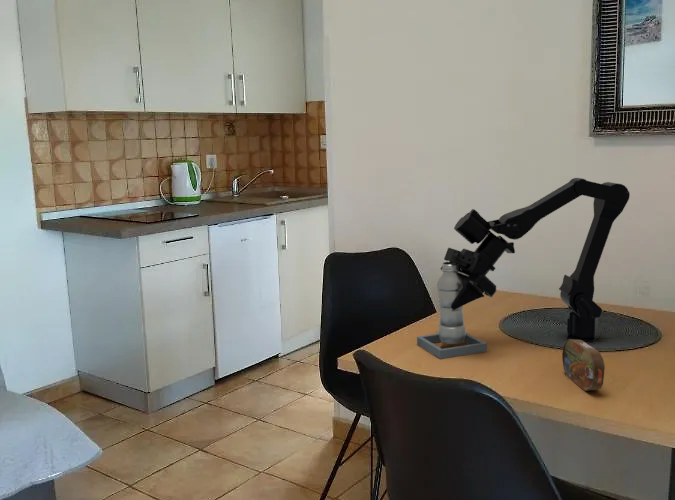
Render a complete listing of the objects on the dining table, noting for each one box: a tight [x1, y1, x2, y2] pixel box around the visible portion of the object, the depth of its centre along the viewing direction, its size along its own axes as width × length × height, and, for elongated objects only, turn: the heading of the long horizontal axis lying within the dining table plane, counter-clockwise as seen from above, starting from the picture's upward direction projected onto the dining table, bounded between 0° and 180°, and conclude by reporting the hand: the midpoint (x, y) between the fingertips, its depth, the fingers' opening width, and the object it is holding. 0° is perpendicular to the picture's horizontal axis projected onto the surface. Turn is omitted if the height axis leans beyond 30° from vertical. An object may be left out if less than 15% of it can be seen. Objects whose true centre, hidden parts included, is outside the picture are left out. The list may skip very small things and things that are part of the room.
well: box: [416, 332, 488, 360], centre depth 165 cm, size 12×12×2 cm
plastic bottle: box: [436, 261, 467, 345], centre depth 163 cm, size 6×7×20 cm
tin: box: [561, 338, 606, 392], centre depth 138 cm, size 15×3×8 cm, turn 4°
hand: (446, 305), depth 163 cm, fingers closed on plastic bottle, 6 cm apart
